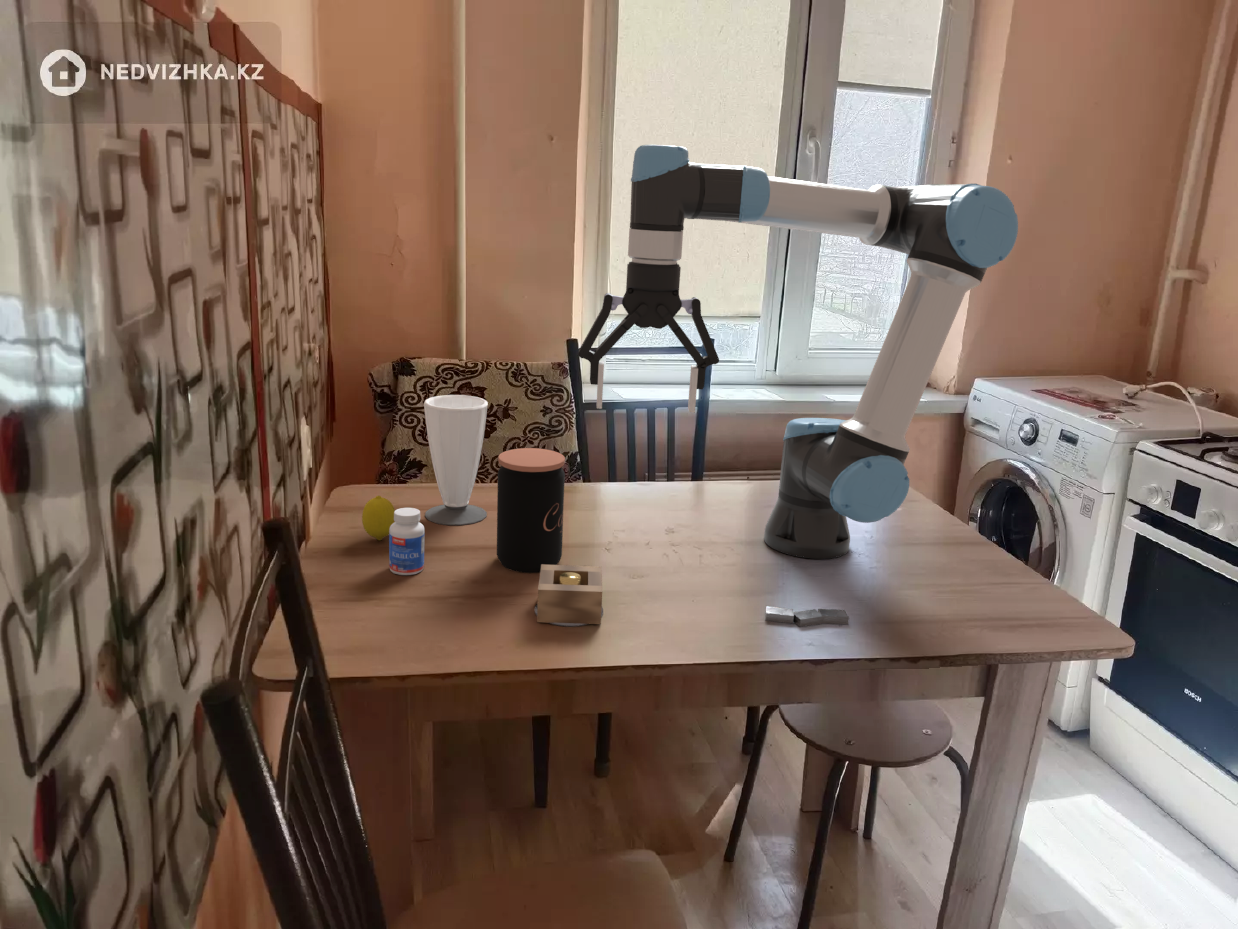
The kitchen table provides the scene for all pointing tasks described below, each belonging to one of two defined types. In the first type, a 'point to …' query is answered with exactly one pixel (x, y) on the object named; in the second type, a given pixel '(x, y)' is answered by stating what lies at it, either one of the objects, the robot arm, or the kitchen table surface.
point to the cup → (455, 455)
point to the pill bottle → (406, 542)
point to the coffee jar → (530, 509)
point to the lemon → (378, 517)
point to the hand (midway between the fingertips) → (645, 408)
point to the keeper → (568, 579)
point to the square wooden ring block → (570, 595)
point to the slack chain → (806, 616)
